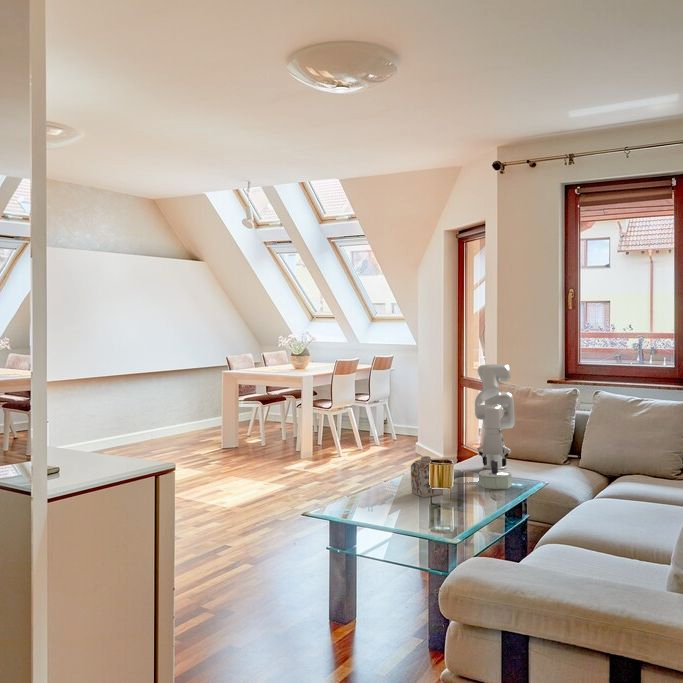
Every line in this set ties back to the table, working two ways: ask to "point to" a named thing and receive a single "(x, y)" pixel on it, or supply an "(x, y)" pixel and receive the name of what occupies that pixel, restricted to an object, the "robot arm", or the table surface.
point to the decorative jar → (422, 478)
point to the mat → (469, 483)
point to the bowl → (495, 482)
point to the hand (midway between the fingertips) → (494, 465)
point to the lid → (494, 471)
